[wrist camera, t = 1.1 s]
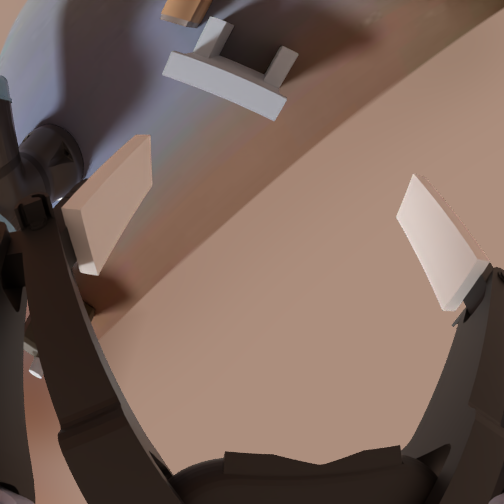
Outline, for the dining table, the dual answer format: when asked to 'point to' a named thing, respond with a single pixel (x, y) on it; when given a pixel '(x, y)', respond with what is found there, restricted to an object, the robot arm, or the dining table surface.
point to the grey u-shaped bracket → (231, 72)
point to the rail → (185, 12)
